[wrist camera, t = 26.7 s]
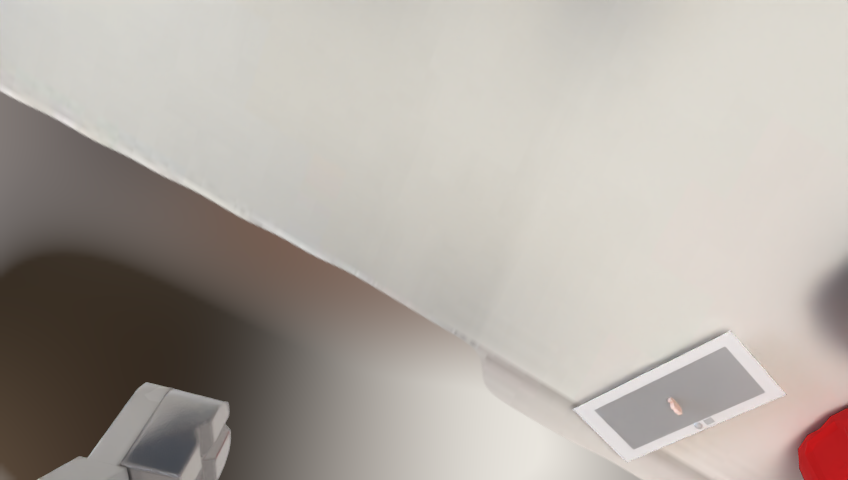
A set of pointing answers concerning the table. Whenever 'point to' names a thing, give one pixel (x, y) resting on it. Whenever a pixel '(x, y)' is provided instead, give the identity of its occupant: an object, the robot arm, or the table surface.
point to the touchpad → (680, 398)
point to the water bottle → (826, 450)
